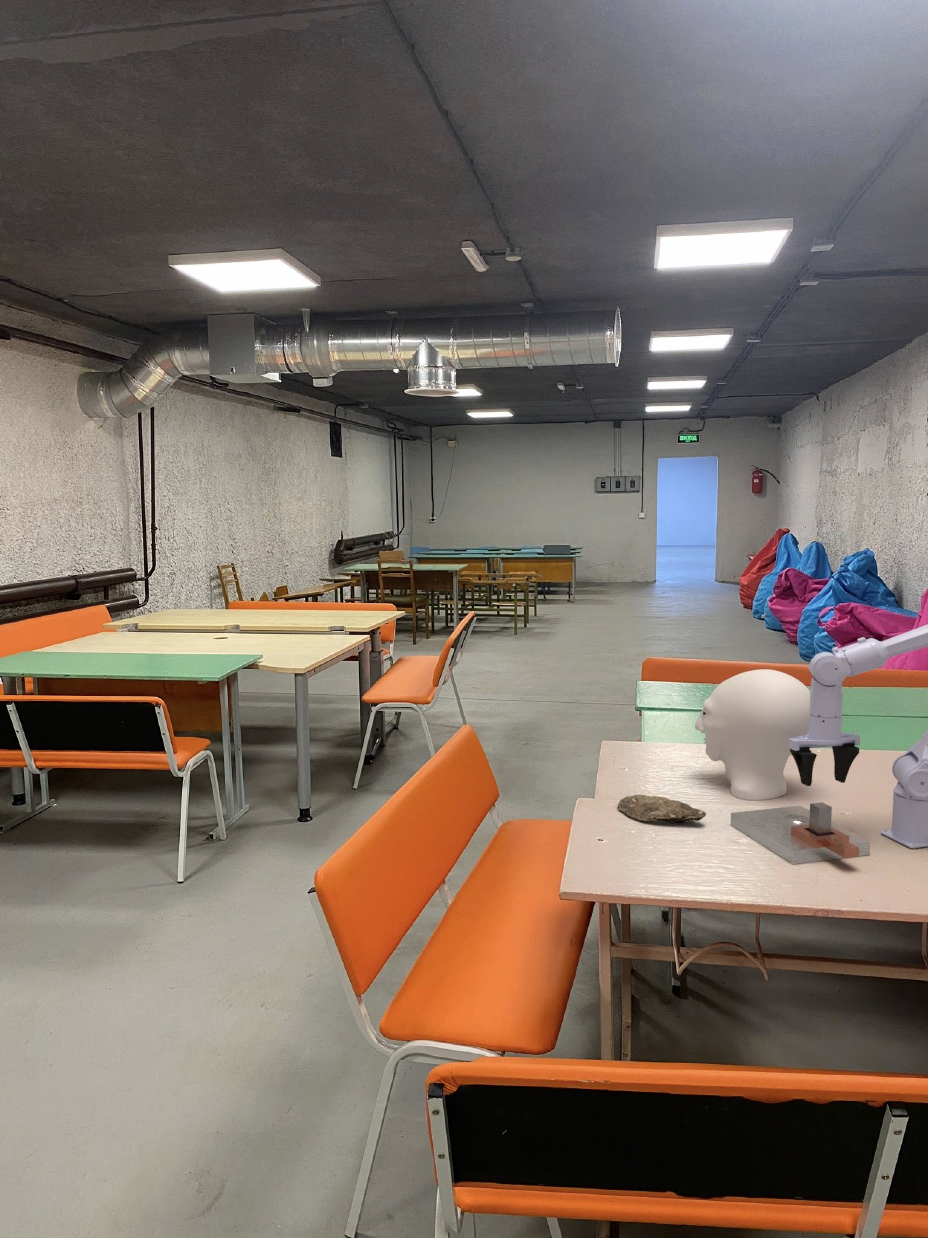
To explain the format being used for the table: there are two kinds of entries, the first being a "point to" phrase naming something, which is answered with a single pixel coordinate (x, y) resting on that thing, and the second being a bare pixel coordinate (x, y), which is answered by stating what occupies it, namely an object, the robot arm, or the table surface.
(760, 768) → the head sculpture
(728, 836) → the table surface
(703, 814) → the rock
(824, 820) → the grey rectangular block
